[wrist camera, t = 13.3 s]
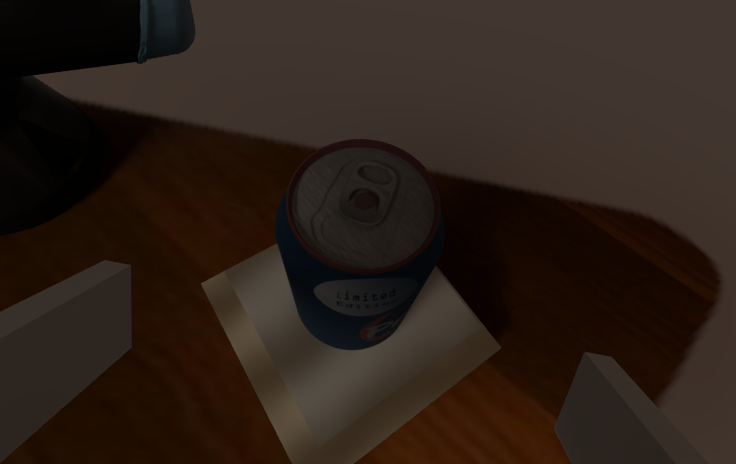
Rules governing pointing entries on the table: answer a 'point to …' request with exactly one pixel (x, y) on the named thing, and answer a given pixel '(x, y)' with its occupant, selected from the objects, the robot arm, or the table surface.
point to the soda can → (358, 240)
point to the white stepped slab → (342, 361)
